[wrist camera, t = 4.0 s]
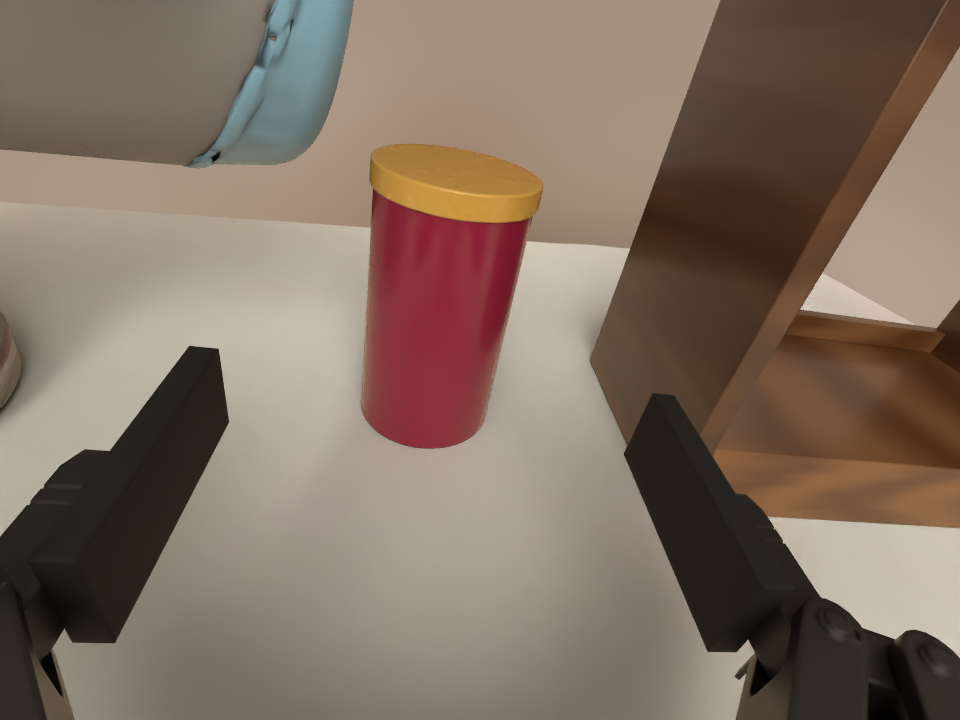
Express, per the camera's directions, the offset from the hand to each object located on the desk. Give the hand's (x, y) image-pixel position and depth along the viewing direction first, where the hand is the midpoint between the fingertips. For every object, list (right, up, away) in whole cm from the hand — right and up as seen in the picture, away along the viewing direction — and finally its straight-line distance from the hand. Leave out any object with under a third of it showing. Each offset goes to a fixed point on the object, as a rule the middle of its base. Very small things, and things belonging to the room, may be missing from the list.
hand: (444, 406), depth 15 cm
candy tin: (-2, -1, +10) cm, 11 cm away
